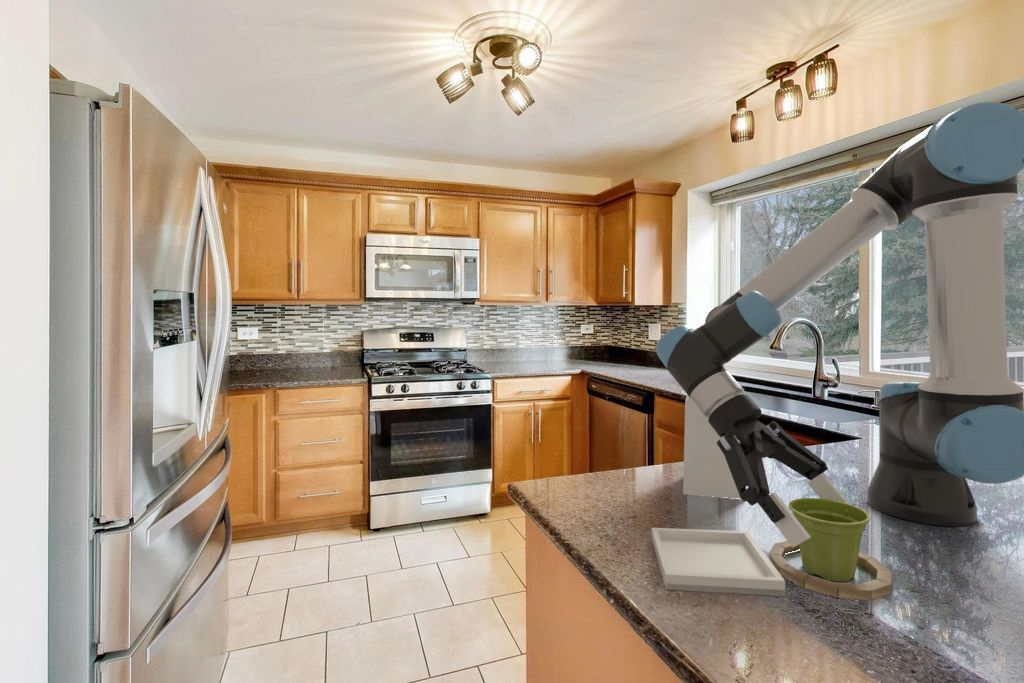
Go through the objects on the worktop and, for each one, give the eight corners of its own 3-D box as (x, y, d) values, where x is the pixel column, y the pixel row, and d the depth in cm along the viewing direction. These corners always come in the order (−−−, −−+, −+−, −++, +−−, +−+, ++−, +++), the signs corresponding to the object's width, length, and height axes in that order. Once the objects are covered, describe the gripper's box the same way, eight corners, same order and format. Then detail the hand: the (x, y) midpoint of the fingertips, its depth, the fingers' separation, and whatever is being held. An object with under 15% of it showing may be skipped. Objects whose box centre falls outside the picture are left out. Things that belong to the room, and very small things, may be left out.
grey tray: (748, 544, 77) (748, 531, 77) (785, 596, 62) (785, 580, 62) (651, 539, 79) (651, 527, 79) (665, 589, 64) (665, 574, 64)
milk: (746, 500, 95) (745, 366, 93) (683, 494, 99) (681, 365, 98) (742, 481, 106) (741, 360, 105) (685, 476, 110) (684, 360, 109)
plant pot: (778, 553, 73) (778, 496, 73) (846, 556, 72) (846, 498, 72) (806, 587, 64) (806, 522, 64) (885, 591, 63) (886, 524, 62)
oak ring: (855, 549, 74) (855, 541, 74) (917, 602, 60) (917, 593, 60) (756, 545, 76) (756, 537, 76) (794, 595, 62) (794, 586, 62)
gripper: (753, 410, 89) (845, 519, 77) (662, 430, 75) (757, 567, 63) (783, 384, 84) (886, 495, 72) (692, 400, 70) (801, 541, 58)
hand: (826, 529), depth 68 cm, fingers open, 13 cm apart
